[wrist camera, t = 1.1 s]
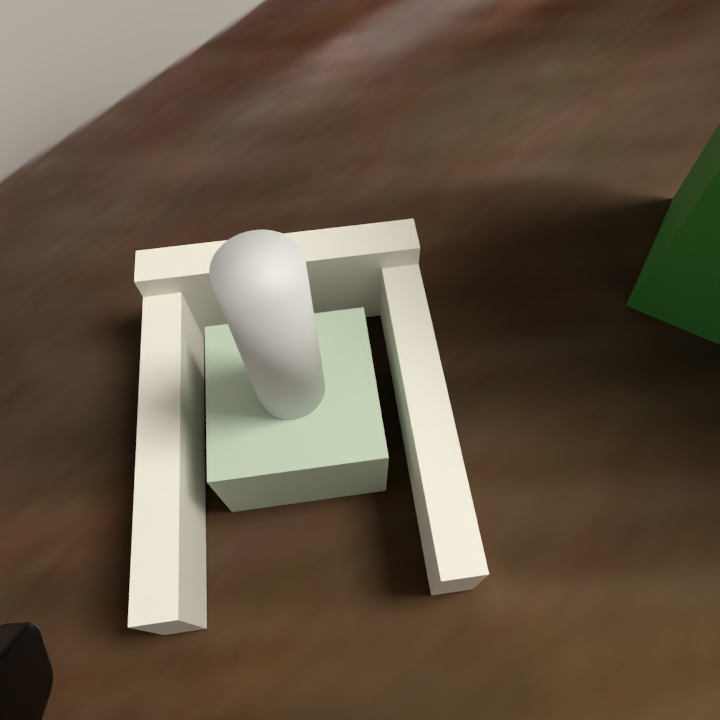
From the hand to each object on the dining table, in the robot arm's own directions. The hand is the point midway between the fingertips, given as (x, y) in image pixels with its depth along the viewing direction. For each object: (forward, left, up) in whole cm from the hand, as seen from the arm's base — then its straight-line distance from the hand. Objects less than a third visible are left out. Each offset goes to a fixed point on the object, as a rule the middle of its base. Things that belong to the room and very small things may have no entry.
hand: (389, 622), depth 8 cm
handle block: (+3, +8, -14) cm, 17 cm away
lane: (+3, +7, -14) cm, 16 cm away
